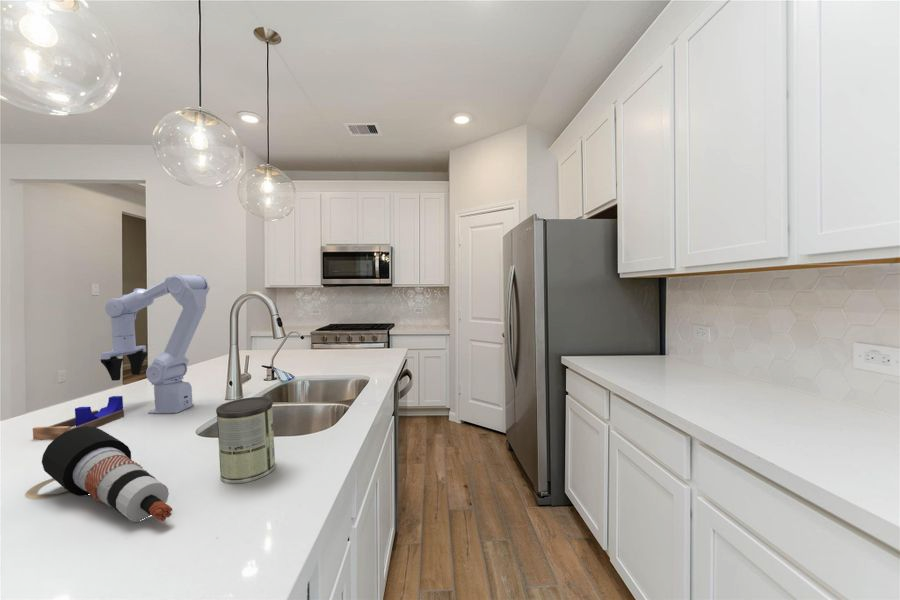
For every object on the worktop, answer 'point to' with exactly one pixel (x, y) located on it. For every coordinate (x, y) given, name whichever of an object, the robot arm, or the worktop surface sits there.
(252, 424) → the coffee can
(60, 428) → the brown wooden piece
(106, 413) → the cable clip
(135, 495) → the cable
